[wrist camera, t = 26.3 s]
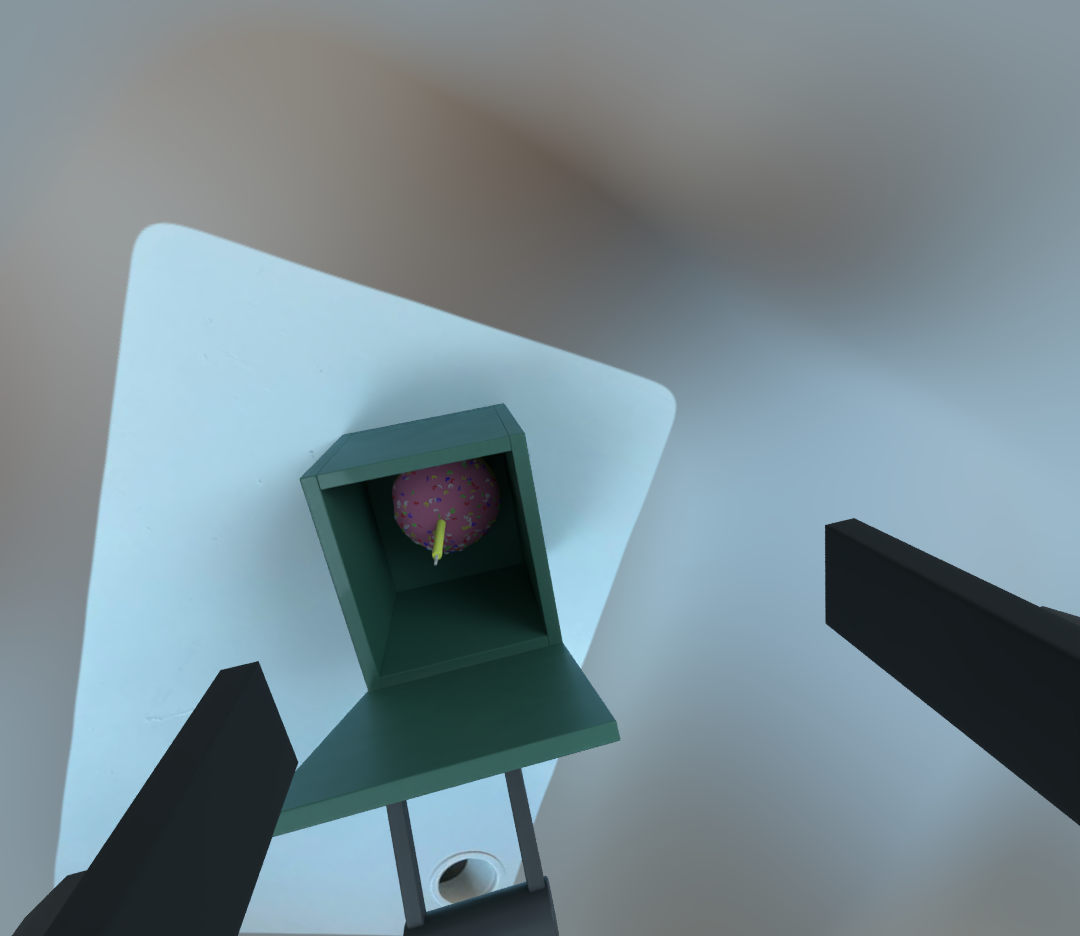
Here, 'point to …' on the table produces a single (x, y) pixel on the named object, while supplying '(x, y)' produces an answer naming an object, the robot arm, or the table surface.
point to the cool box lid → (455, 770)
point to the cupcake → (447, 504)
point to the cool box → (408, 568)
